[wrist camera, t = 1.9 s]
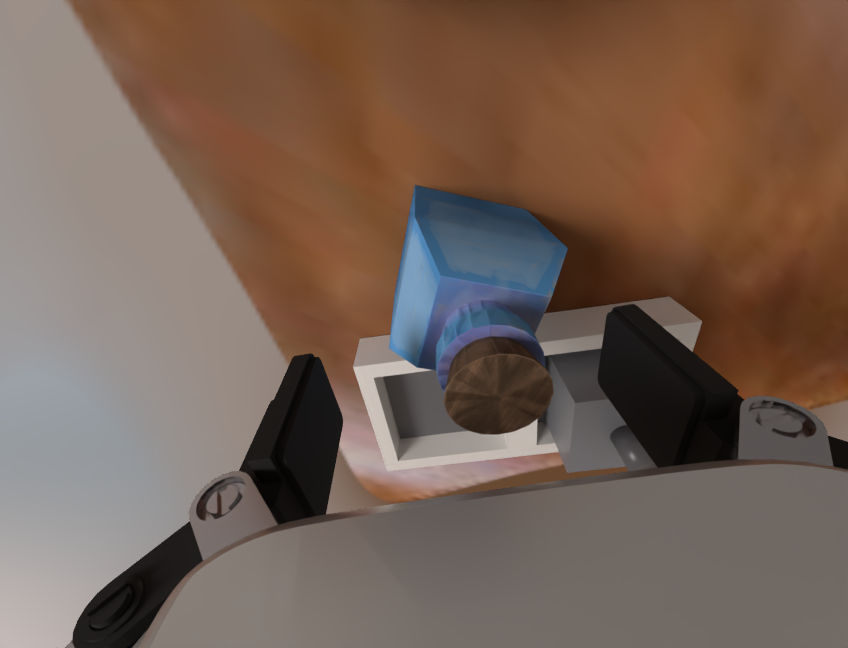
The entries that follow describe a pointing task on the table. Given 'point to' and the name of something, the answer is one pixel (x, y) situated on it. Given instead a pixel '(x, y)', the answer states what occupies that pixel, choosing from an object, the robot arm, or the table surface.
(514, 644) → the robot arm
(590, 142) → the table surface
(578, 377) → the charcoal plug block
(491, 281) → the perfume bottle
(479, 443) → the socket strip
